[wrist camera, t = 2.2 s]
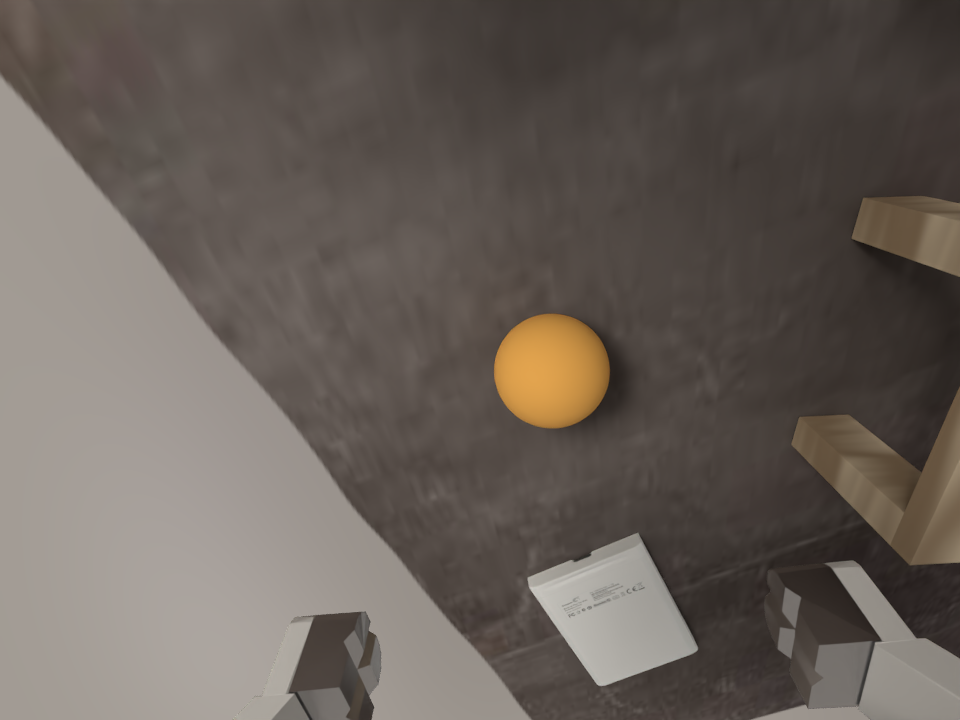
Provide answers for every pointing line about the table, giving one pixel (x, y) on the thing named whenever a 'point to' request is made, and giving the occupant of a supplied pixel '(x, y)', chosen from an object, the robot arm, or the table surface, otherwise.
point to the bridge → (865, 458)
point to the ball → (552, 370)
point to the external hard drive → (614, 611)
